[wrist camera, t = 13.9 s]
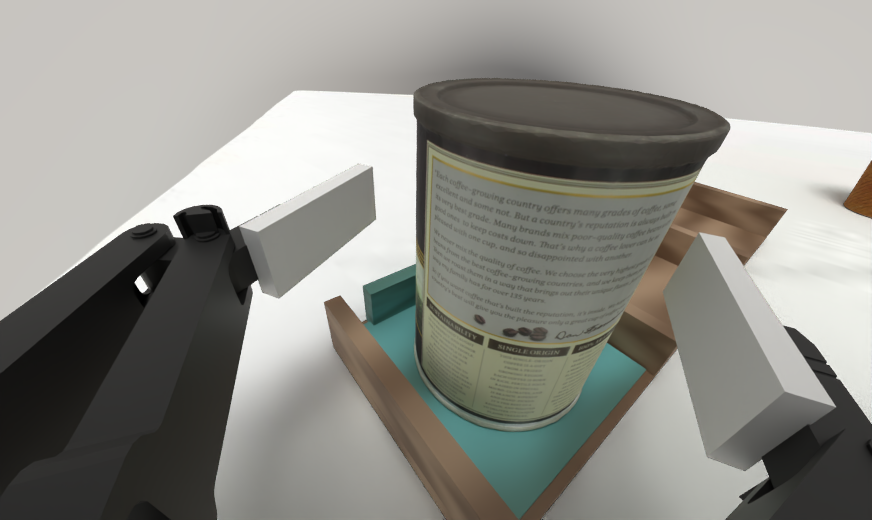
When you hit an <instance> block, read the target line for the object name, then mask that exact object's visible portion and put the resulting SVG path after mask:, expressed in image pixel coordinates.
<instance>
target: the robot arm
mask: <svg viewBox="0 0 872 520" xmlns="http://www.w3.org/2000/svg"><path fill="white" fill-rule="evenodd" d="M173 217H174V219H175V222H176V224H177V226H178V228H179V230H180V232H181V234H182V236H183V238H176V237H173V235H172V233H171V231H170V229H169V227H168V226H167V225H165V224H159V223H154V224H150V223H147V224H144V225H143V224H141V225H138V226H136V227H134V228H131V229H129V230H127V231H125V232H124V233H122V234H121V235H119V236H118V237H116V238H115V239H114V240H112V241H111V242H109V243H108V244H107V245H105V246H104V247H102V248H101V249H100V250H98V251H97V252H96V253H94V254H93V255H91V256H90V257H89V258H87V259H86V260H84V261H83V262H82V263H80V264H79V265H77V266H76V267H75V268H73V269H72V270H70V271H69V272H68V273H66V274H65V275H64V276H62V277H61V278H59V279H58V280H57V281H55V282H54V283H52V284H51V285H50V286H48V287H47V288H45V289H44V290H43V291H41V292H40V293H39V294H37V295H36V296H34V297H33V298H32V299H30V300H29V301H27V302H26V303H25V304H23V305H22V306H20V307H19V308H18V309H16V310H15V311H13V312H12V313H11V314H9V315H8V316H7V317H5V318H4V319H2V320H1V321H0V520H217V509H216V504H215V498H214V486H215V480H216V475H217V470H218V465H219V460H220V455H221V450H222V445H223V440H224V435H225V430H226V425H227V420H228V415H229V410H230V405H231V400H232V395H233V390H234V385H235V380H236V375H237V370H238V365H239V360H240V355H241V350H242V345H243V340H244V335H245V330H246V325H247V320H248V314H249V309H250V304H251V299H252V294H253V292H252V288H251V284H252V283H254V282H255V281H257V280H258V281H259V284H260V287H261V290H262V292H263V293H265V294H268V295H271V296H273V297H276V298H280V297H282V296H283V295H284V294H285V293H287V292H288V291H289V290H290V289H291V288H293V287H294V286H295V285H296V284H298V283H299V282H300V281H301V280H302V279H304V278H305V277H306V276H307V275H309V274H310V273H311V272H312V271H313V270H315V269H316V268H317V267H318V266H320V265H321V264H322V263H323V262H324V261H326V260H327V259H328V258H329V257H330V256H332V255H333V254H334V253H335V252H337V251H338V250H339V249H340V248H341V247H343V246H344V245H345V244H346V243H348V242H349V241H350V240H351V239H352V238H354V237H355V236H356V235H357V234H359V233H360V232H361V231H362V230H363V229H365V228H366V227H367V226H368V225H370V224H371V223H372V222H373V221H374V220H376V211H375V196H374V182H373V167H372V166H367V165H362V164H357V165H355V166H353V167H351V168H349V169H347V170H345V171H344V172H342V173H340V174H338V175H336V176H334V177H332V178H330V179H328V180H326V181H324V182H323V183H321V184H319V185H317V186H315V187H313V188H311V189H309V190H307V191H305V192H303V193H302V194H300V195H298V196H296V197H294V198H292V199H290V200H288V201H286V202H284V203H282V204H280V205H277V206H276V207H274V208H272V209H270V210H268V211H266V212H264V213H262V214H260V216H256V217H254V218H253V219H251V220H249V221H247V222H245V223H243V224H241V225H239V226H237V227H235V228H233V229H231V230H229V227H228V224H227V222H226V219H225V216H224V214H223V211H222V209H221V208H220V207H218V206H215V205H199V206H193V207H190V208H186V209H184V210H182V211H179V212H177V213H176V214H175V215H174V216H173ZM140 275H141V277H142V279H143V280H144V282H145V283H146V285H147V287H148V289H147V290H146V291H145V292H144V293H141V292H140V291H139V289H138V288H137V286H136V285H135V283H134V282H135V281H136V279H137V278H138V277H139V276H140ZM663 295H664V299H665V302H666V306H667V310H668V314H669V317H670V321H671V325H672V329H673V332H674V336H675V340H676V343H677V347H678V351H679V355H680V358H681V362H682V366H683V370H684V373H685V377H686V381H687V384H688V388H689V392H690V396H691V399H692V403H693V407H694V411H695V414H696V418H697V422H698V425H699V429H700V433H701V437H702V440H703V444H704V448H705V451H706V455H707V457H708V458H711V459H714V460H716V461H719V462H722V463H724V464H727V465H730V466H733V467H735V468H738V469H741V470H743V471H746V470H747V469H749V468H750V467H752V466H753V465H754V464H756V463H757V462H759V461H760V460H763V462H764V465H765V467H766V470H767V472H768V475H769V478H767V479H766V480H764V481H763V482H761V483H759V484H758V485H756V486H755V487H753V488H752V489H750V490H748V491H747V492H745V493H744V494H742V495H741V496H739V497H740V498H741V499H742V500H743V501H742V503H741V504H740V505H739V506H738V507H737V508H736V509H735V510H734V511H733V512H732V513H731V514H730V515H729V516H728V517H727V518H726V520H872V424H871V423H870V421H869V420H868V418H867V417H866V416H865V414H864V413H863V411H862V410H861V409H860V407H859V406H858V404H857V403H856V402H855V400H854V399H853V398H852V396H851V395H850V393H849V392H848V391H847V389H846V388H845V386H844V385H843V384H842V382H841V381H840V380H839V379H836V377H837V375H836V374H835V373H834V371H833V370H832V368H831V367H830V366H829V365H826V363H827V361H826V360H825V359H824V357H823V356H822V354H821V353H820V352H819V350H818V349H817V348H816V346H815V345H814V344H813V343H812V342H810V341H809V340H808V339H807V338H806V337H804V336H803V335H802V334H801V333H800V332H798V331H797V330H796V329H794V328H790V327H787V326H783V325H782V324H781V322H780V321H779V319H778V318H777V316H776V315H775V313H774V312H773V310H772V308H771V307H770V305H769V304H768V302H767V301H766V299H765V298H764V296H763V295H762V293H761V292H760V290H759V289H758V287H757V286H756V284H755V283H754V281H753V280H752V278H751V277H750V275H749V273H748V272H747V270H746V269H745V267H744V266H743V264H742V263H741V261H740V260H739V258H738V257H737V255H736V254H735V252H734V251H733V249H732V248H731V246H730V245H729V243H728V242H727V240H726V238H725V237H720V236H715V235H710V234H705V233H700V232H699V233H698V235H697V236H696V238H695V240H694V241H693V243H692V244H691V246H690V248H689V249H688V251H687V253H686V254H685V256H684V258H683V259H682V261H681V262H680V264H679V266H678V267H677V269H676V271H675V272H674V274H673V276H672V277H671V279H670V281H669V282H668V284H667V285H666V287H665V289H664V290H663Z"/></svg>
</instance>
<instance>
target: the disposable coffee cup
mask: <svg viewBox="0 0 872 520" xmlns="http://www.w3.org/2000/svg"><path fill="white" fill-rule="evenodd" d="M844 206H845V207H846V208H848V209H849V210H852V211H854V212H856V213H858V214H861V215H864V216H867V217H870V218H872V161H871V162H870V164H869V165H868V167H867V169H866V170H865V172H864V173H863V175H862V176H861V178H860V179H859V181H858V183H857V184H856V186H855V187H854V189H853V190H852V192H851V193H850V195H849V197H848V198H847V200H846V201H845V202H844Z"/></svg>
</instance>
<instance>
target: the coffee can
mask: <svg viewBox="0 0 872 520" xmlns="http://www.w3.org/2000/svg"><path fill="white" fill-rule="evenodd" d="M413 107H414V116H415V117H416V119H417V170H416V181H417V190H416V311H415V340H414V356H415V361H416V365H417V368H418V371H419V374H420V376H421V378H422V380H423V382H424V384H425V385H426V386H427V388H428V389H429V390H430V392H431V393H432V394H433V395H434V396H435V397H436V398H437V399H438V400H439V401H440V402H441V403H442V404H443V405H444V406H445V407H447V408H448V409H449V410H450V411H452V412H453V413H455V414H457V415H458V416H460V417H462V418H463V419H465V420H467V421H469V422H472V423H474V424H476V425H478V426H482V427H485V428H491V429H496V430H500V431H510V432H514V431H528V430H534V429H538V428H541V427H544V426H546V425H549V424H551V423H554V422H557V421H558V420H559V419H560V418H561V417H562V416H564V415H565V414H567V413H568V412H569V411H570V410H571V408H572V407H573V406H574V405H575V404H576V402H577V400H578V399H579V396H580V394H581V392H582V388H583V385H584V383H585V381H586V380H587V378H588V376H589V374H590V372H591V370H592V369H593V367H594V365H595V363H596V361H597V359H598V357H599V356H600V354H601V352H602V350H603V349H604V347H605V345H606V343H607V341H608V339H609V337H610V336H611V334H612V332H613V330H614V328H615V327H616V325H617V323H618V322H619V320H620V318H621V316H622V314H623V312H624V310H625V308H626V307H627V305H628V303H629V301H630V299H631V297H632V296H633V294H634V292H635V290H636V288H637V287H638V285H639V283H640V281H641V279H642V277H643V275H644V273H645V272H646V270H647V268H648V266H649V264H650V262H651V261H652V259H653V257H654V255H655V253H656V252H657V250H658V248H659V246H660V244H661V243H662V241H663V239H664V237H665V235H666V233H667V232H668V230H669V228H670V226H671V224H672V222H673V220H674V218H675V216H676V215H677V213H678V211H679V209H680V207H681V205H682V203H683V202H684V200H685V198H686V196H687V194H688V192H689V191H690V189H691V187H692V185H693V184H694V182H695V180H696V178H697V176H698V174H699V172H700V170H701V169H702V167H703V165H704V163H705V161H706V160H707V158H708V157H709V156H711V155H712V154H714V153H715V152H717V150H718V149H719V148H720V146H721V144H722V143H723V141H724V139H725V137H726V136H727V134H728V132H729V130H730V124H729V122H728V121H727V120H725V119H724V118H723V117H722V116H720V115H718V114H717V113H715V112H713V111H710V110H709V109H707V108H704V107H700V106H698V105H695V104H690V103H687V102H684V101H681V100H677V99H672V98H668V97H664V96H659V95H653V94H649V93H642V92H639V91H632V90H626V89H619V88H611V87H604V86H596V85H586V84H578V83H571V82H559V81H546V80H528V79H527V80H526V79H500V78H492V79H490V78H489V79H488V78H482V79H481V78H480V79H478V78H477V79H476V78H475V79H459V80H447V81H442V82H436V83H432V84H428V85H426V86H423V87H421V88H419V89H418V90H416V91H415V93H414V105H413Z"/></svg>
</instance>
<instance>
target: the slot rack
mask: <svg viewBox="0 0 872 520" xmlns="http://www.w3.org/2000/svg"><path fill="white" fill-rule="evenodd" d="M787 210H788V209H785V208H782V207H778V206H775V205H771V204H768V203H765V202H761V201H758V200H754V199H751V198H748V197H744V196H741V195H737V194H734V193H730V192H727V191H724V190H720V189H717V188H713V187H710V186H707V185H703V184H700V183H696V182H694V184H693V185H692V187H691V189H690V191H689V192H688V194H687V196H686V198H685V200H684V202H683V203H682V205H681V207H680V209H679V211H678V213H677V215H676V216H675V218H674V220H673V222H672V224H671V226H670V228H669V230H668V232H667V233H666V235H665V237H664V239H663V241H662V243H661V244H660V246H659V248H658V250H657V252H656V253H655V255H654V257H653V259H652V261H651V262H650V264H649V266H648V268H647V270H646V272H645V273H644V275H643V277H642V279H641V281H640V283H639V285H638V287H637V288H636V290H635V292H634V294H633V296H632V297H631V299H630V301H629V303H628V305H627V307H626V308H625V310H624V312H623V314H622V316H621V318H620V320H619V322H618V323H617V325H616V327H615V328H614V330H613V332H612V334H611V336H610V337H609V339H608V341H607V343H606V345H605V347H604V349H603V350H602V352H601V354H600V356H599V357H598V359H597V361H596V363H595V365H594V367H593V369H592V370H591V372H590V374H589V376H588V378H587V380H586V381H585V383H584V385H583V388H582V392H581V394H580V396H579V399H578V400H577V402H576V404H575V405H574V406H573V407H572V408H571V410H570V411H569V412H568V413H567V414H565V415H564V416H562V417H561V418H560V419H559V420H558V421H557V422H554V423H551V424H549V425H546V426H544V427H541V428H538V429H534V430H528V431H514V432H510V431H500V430H496V429H491V428H485V427H482V426H478V425H476V424H474V423H472V422H469V421H467V420H465V419H463V418H462V417H460V416H458V415H457V414H455V413H453V412H452V411H450V410H449V409H448V408H447V407H445V406H444V405H443V404H442V403H441V402H440V401H439V400H438V399H437V398H436V397H435V396H434V395H433V394H432V393H431V392H430V390H429V389H428V388H427V386H426V385H425V384H424V382H423V380H422V378H421V376H420V374H419V371H418V368H417V365H416V361H415V356H414V340H415V311H416V264H414V265H412V266H410V267H407V268H405V269H402V270H400V271H398V272H395V273H393V274H390V275H388V276H386V277H383V278H381V279H378V280H376V281H374V282H371V283H369V284H366V285H364V286H363V292H364V301H365V310H366V319H367V320H365V321H363V322H361V321H360V320H359V318H358V317H357V316H356V315H355V313H354V312H353V311H352V310H351V308H350V307H349V306H348V305H347V303H346V302H345V301H344V300H343V298H342V297H341V296H338V297H335V298H333V299H330V300H328V301H326V302H324V305H325V309H326V314H327V319H328V323H329V328H330V333H331V337H332V342H333V347H334V349H335V350H336V352H337V353H338V355H339V356H340V358H341V359H342V361H343V362H344V364H345V365H346V367H347V368H348V370H349V371H350V373H351V375H352V376H353V378H354V379H355V381H356V382H357V384H358V385H359V387H360V388H361V390H362V391H363V393H364V394H365V396H366V397H367V399H368V401H369V402H370V404H371V405H372V407H373V408H374V410H375V411H376V413H377V414H378V416H379V417H380V419H381V420H382V422H383V423H384V425H385V427H386V428H387V430H388V431H389V433H390V434H391V436H392V437H393V439H394V440H395V442H396V443H397V445H398V446H399V448H400V449H401V451H402V453H403V454H404V456H405V457H406V459H407V460H408V462H409V463H410V465H411V466H412V468H413V469H414V471H415V472H416V474H417V475H418V477H419V479H420V480H421V482H422V483H423V485H424V486H425V488H426V489H427V491H428V492H429V494H430V495H431V497H432V498H433V500H434V501H435V503H436V505H437V506H438V508H439V509H440V511H441V512H442V514H443V515H444V517H445V518H446V520H540V519H541V518H542V517H543V516H544V514H545V513H546V512H547V511H548V509H549V508H550V507H551V506H552V504H553V503H554V502H555V501H556V499H557V498H558V497H559V496H560V494H561V493H562V492H563V491H564V489H565V488H566V487H567V486H568V484H569V483H570V482H571V481H572V479H573V478H574V477H575V476H576V474H577V473H578V472H579V471H580V469H581V468H582V467H583V466H584V464H585V463H586V462H587V461H588V459H589V458H590V457H591V456H592V454H593V453H594V452H595V451H596V449H597V448H598V447H599V446H600V444H601V443H602V442H603V441H604V440H605V438H606V437H607V436H608V435H609V433H610V432H611V431H612V430H613V428H614V427H615V426H616V425H617V423H618V422H619V421H620V420H621V418H622V417H623V416H624V415H625V413H626V412H627V411H628V410H629V408H630V407H631V406H632V405H633V403H634V402H635V401H636V400H637V398H638V397H639V396H640V395H641V393H642V392H643V391H644V390H645V388H646V387H647V386H648V385H649V383H650V382H651V381H652V380H653V378H654V377H655V376H656V375H657V373H658V372H659V371H660V370H661V368H662V367H663V366H664V365H665V363H666V362H667V361H668V360H669V358H670V357H671V356H672V355H673V353H674V352H675V351H676V350H677V349H678V347H677V343H676V340H675V336H674V332H673V329H672V325H671V321H670V317H669V314H668V310H667V306H666V302H665V299H664V295H663V290H664V289H665V287H666V285H667V284H668V282H669V281H670V279H671V277H672V276H673V274H674V272H675V271H676V269H677V267H678V266H679V264H680V262H681V261H682V259H683V258H684V256H685V254H686V253H687V251H688V249H689V248H690V246H691V244H692V243H693V241H694V240H695V238H696V236H697V235H698V233H699V232H700V233H705V234H710V235H715V236H720V237H725V238H726V240H727V242H728V243H729V245H730V246H731V248H732V249H733V251H734V252H735V254H736V255H737V257H738V258H739V260H740V261H741V263H742V264H743V266H744V265H745V264H746V262H747V261H748V260H749V259H750V257H751V256H752V255H753V254H754V253H755V251H756V250H757V249H758V248H759V246H760V245H761V244H762V243H763V241H764V240H765V239H766V237H767V236H768V235H769V233H770V232H771V231H772V229H773V228H774V227H775V225H776V224H777V223H778V221H779V220H780V219H781V218H782V216H783V215H784V214H785V212H786V211H787Z"/></svg>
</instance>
